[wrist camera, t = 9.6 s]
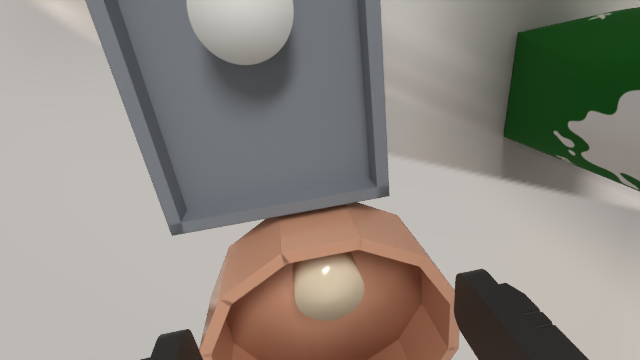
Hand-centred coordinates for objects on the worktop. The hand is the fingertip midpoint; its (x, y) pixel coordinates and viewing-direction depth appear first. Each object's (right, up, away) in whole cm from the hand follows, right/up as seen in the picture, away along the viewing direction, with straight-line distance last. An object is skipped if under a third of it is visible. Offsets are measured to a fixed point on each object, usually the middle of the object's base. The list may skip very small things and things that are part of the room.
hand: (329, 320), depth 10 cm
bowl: (0, -6, +18) cm, 19 cm away
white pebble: (-4, +13, +8) cm, 16 cm away
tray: (-4, +10, +11) cm, 15 cm away
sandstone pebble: (0, -3, +16) cm, 16 cm away
